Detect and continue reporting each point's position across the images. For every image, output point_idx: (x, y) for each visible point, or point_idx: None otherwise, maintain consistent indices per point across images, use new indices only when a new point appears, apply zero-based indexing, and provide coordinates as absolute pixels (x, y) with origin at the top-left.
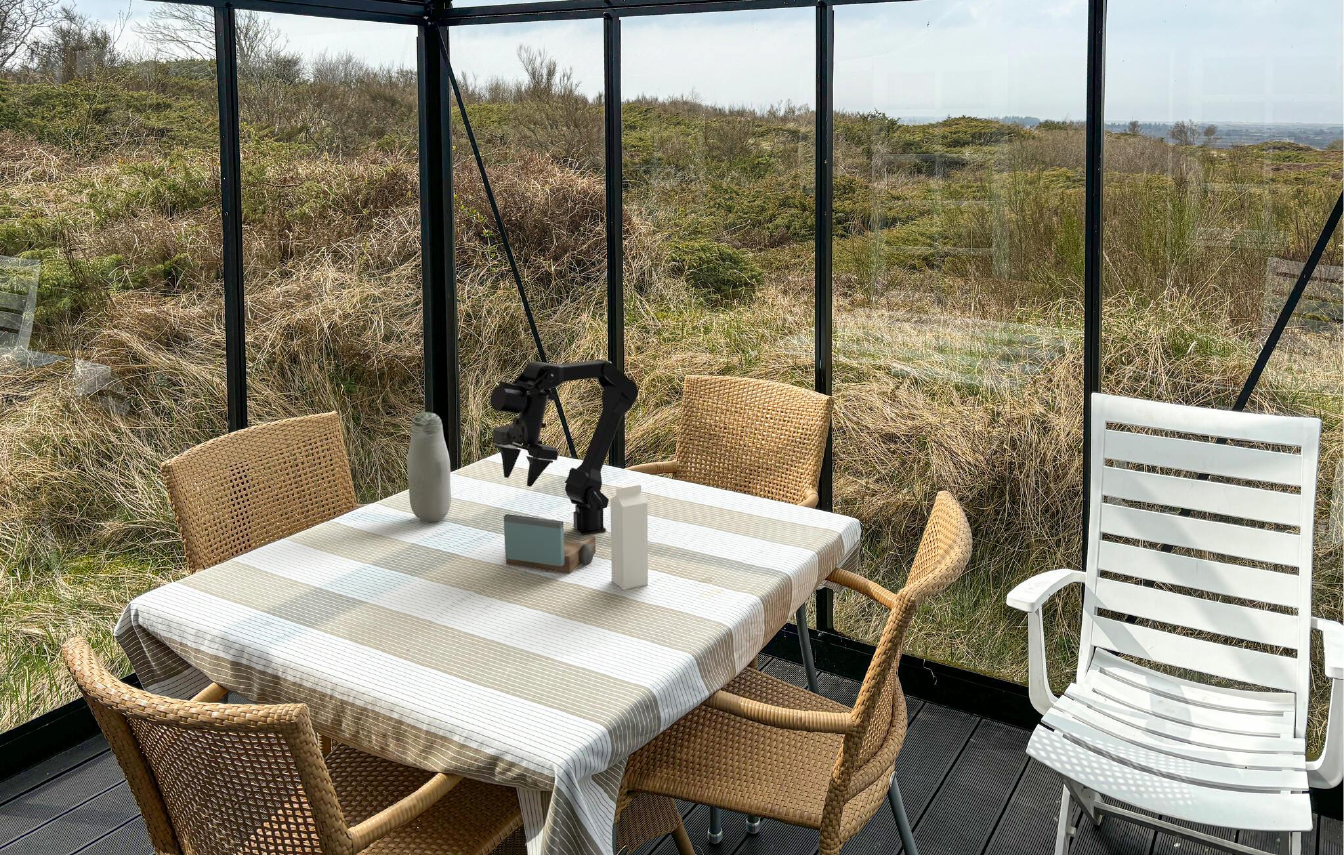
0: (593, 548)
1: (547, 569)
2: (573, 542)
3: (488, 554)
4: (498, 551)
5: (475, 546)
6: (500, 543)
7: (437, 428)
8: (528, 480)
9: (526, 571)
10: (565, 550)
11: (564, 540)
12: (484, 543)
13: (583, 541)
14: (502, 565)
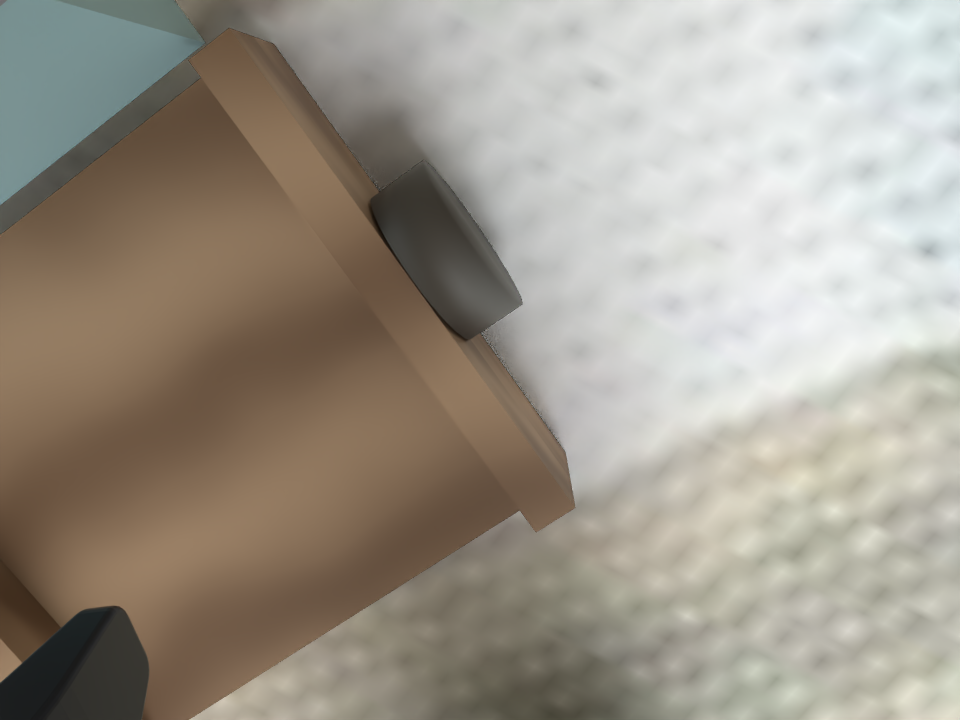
0: None
1: None
2: (255, 654)
3: (574, 19)
4: (589, 129)
5: (828, 8)
6: (754, 232)
7: None
8: (2, 695)
9: None
10: (121, 521)
11: (334, 621)
12: (844, 113)
13: None
14: (266, 4)
